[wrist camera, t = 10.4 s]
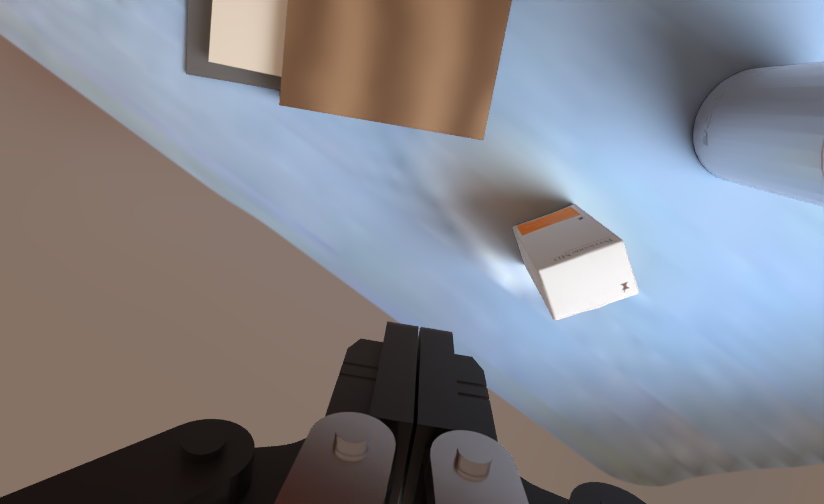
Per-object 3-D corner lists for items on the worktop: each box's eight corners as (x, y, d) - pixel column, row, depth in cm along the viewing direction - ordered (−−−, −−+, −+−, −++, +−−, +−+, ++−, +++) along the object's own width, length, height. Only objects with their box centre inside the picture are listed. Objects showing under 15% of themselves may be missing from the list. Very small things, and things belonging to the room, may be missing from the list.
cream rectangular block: (304, -43, 38) (297, -50, 36) (290, 78, 40) (283, 77, 39) (227, -59, 38) (217, -68, 36) (218, 63, 40) (208, 61, 38)
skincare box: (574, 201, 43) (626, 238, 32) (587, 244, 44) (642, 295, 33) (508, 225, 44) (536, 269, 33) (523, 267, 45) (555, 324, 34)
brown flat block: (509, -19, 38) (518, -32, 34) (478, 136, 42) (483, 140, 38) (307, -55, 38) (293, -72, 34) (293, 104, 41) (279, 105, 38)
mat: (299, -42, 38) (298, -43, 38) (288, 91, 41) (287, 91, 41) (191, -61, 38) (189, -62, 38) (188, 74, 41) (186, 73, 41)
